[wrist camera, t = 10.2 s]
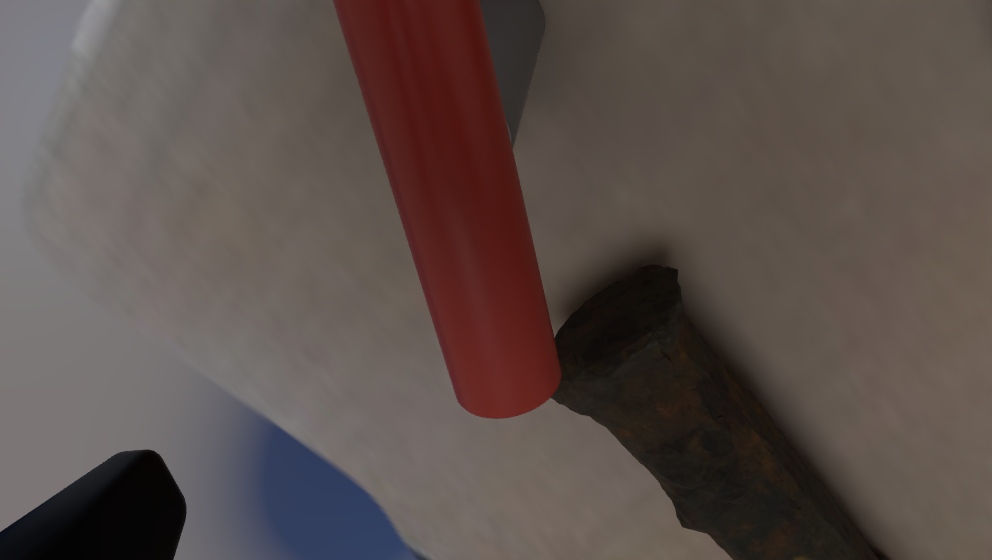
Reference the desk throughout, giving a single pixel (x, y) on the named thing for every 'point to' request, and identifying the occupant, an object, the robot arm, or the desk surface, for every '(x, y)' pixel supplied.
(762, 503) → the hand tool
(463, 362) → the T-handle
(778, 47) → the desk surface
